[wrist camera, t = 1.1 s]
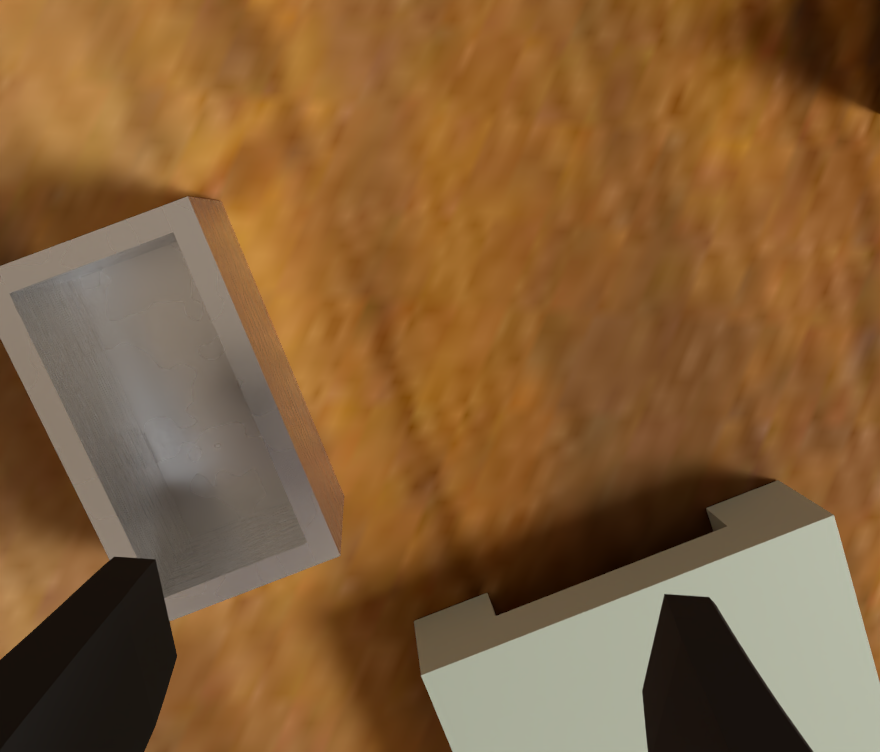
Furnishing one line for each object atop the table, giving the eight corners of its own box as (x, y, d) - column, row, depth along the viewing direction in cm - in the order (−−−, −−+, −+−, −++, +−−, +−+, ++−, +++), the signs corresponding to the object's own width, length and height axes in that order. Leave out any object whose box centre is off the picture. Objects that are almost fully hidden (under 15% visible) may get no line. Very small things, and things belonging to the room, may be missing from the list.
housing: (185, 554, 24) (144, 631, 19) (48, 265, 22) (-30, 277, 17) (344, 494, 24) (339, 555, 19) (222, 201, 22) (188, 196, 18)
